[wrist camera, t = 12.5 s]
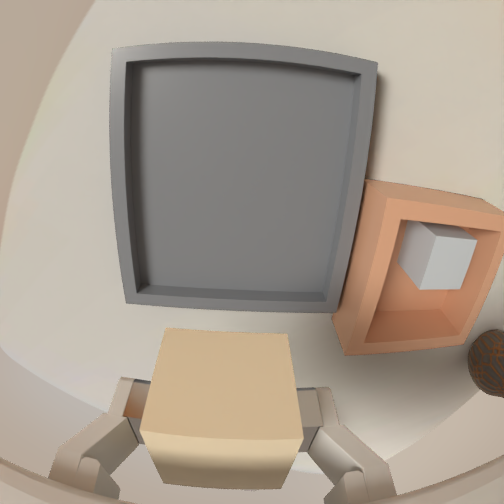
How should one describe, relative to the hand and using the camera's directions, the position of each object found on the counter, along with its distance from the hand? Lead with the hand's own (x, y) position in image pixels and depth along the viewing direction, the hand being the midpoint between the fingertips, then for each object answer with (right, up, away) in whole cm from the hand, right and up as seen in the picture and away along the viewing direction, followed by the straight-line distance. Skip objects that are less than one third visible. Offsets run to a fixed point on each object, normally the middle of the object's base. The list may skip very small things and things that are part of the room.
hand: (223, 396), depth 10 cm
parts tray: (0, +9, +11) cm, 14 cm away
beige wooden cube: (0, 0, +1) cm, 1 cm away
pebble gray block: (+14, +6, +12) cm, 20 cm away
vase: (+29, -6, +20) cm, 35 cm away
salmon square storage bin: (+14, +4, +14) cm, 20 cm away
